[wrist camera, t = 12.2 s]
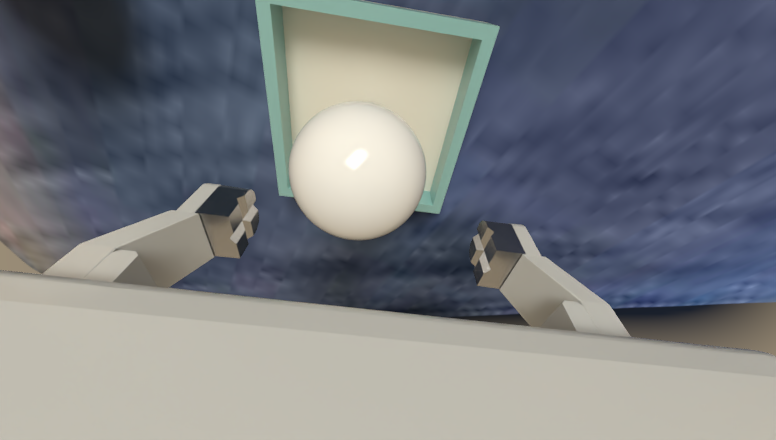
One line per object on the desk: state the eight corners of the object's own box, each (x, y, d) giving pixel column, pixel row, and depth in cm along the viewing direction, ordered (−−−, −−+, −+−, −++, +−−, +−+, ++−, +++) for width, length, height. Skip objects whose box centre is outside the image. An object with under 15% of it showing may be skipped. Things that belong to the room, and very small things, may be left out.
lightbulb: (339, 167, 22) (305, 277, 13) (309, 80, 18) (233, 153, 9) (420, 152, 21) (441, 258, 12) (406, 57, 17) (422, 114, 9)
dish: (486, 22, 17) (499, 26, 15) (435, 195, 24) (439, 213, 22) (270, -17, 16) (252, -18, 14) (288, 177, 23) (279, 195, 21)
